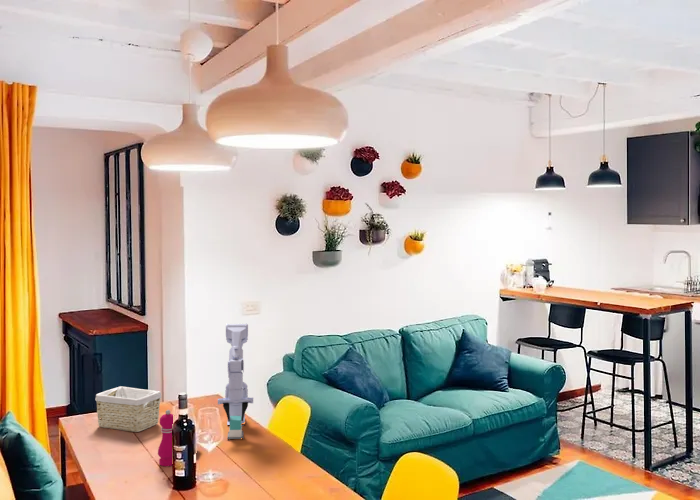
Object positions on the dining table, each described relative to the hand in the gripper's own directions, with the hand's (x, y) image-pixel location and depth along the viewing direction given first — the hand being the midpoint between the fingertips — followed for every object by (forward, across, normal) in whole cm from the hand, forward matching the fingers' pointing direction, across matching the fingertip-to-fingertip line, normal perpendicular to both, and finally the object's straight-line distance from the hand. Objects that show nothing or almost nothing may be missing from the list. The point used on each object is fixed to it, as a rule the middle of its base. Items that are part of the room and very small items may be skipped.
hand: (235, 420), depth 273 cm
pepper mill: (+7, -24, -27) cm, 37 cm away
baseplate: (+7, 0, 0) cm, 7 cm away
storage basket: (+7, -46, +21) cm, 52 cm away
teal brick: (+3, 0, 0) cm, 3 cm away
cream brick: (+7, 0, 0) cm, 7 cm away
